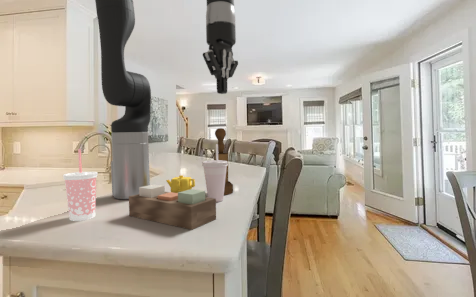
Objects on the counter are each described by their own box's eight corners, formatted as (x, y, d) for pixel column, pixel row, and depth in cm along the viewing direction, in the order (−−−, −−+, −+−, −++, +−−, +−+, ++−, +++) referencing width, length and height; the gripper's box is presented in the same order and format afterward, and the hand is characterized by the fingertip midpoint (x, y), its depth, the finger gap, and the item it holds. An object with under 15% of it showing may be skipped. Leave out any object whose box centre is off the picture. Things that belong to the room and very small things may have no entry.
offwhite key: (139, 201, 59) (139, 187, 59) (153, 198, 62) (152, 184, 62) (151, 203, 57) (150, 188, 57) (164, 200, 60) (164, 185, 60)
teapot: (162, 196, 76) (162, 177, 76) (169, 192, 82) (168, 174, 82) (192, 196, 76) (191, 177, 75) (196, 192, 81) (196, 174, 81)
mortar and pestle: (232, 195, 76) (231, 127, 76) (208, 195, 77) (207, 128, 76) (233, 190, 83) (232, 128, 82) (211, 190, 83) (209, 128, 82)
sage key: (178, 208, 53) (177, 192, 53) (191, 204, 56) (190, 189, 56) (192, 211, 51) (192, 194, 51) (205, 206, 54) (205, 191, 54)
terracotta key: (158, 210, 56) (157, 195, 56) (171, 206, 59) (171, 192, 59) (171, 213, 54) (170, 197, 54) (184, 208, 57) (183, 193, 57)
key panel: (129, 215, 59) (128, 196, 58) (155, 207, 64) (155, 190, 64) (191, 229, 49) (191, 206, 49) (216, 219, 55) (215, 198, 55)
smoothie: (225, 203, 67) (224, 144, 66) (199, 202, 68) (197, 144, 68) (231, 197, 73) (230, 143, 73) (207, 196, 75) (206, 143, 74)
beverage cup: (82, 223, 54) (79, 149, 53) (57, 220, 56) (53, 149, 55) (106, 214, 60) (103, 147, 59) (82, 212, 62) (79, 147, 61)
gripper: (223, 35, 81) (224, 97, 82) (192, 20, 70) (194, 91, 71) (246, 30, 77) (247, 94, 78) (217, 13, 66) (218, 89, 67)
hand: (222, 93), depth 74 cm, fingers closed
